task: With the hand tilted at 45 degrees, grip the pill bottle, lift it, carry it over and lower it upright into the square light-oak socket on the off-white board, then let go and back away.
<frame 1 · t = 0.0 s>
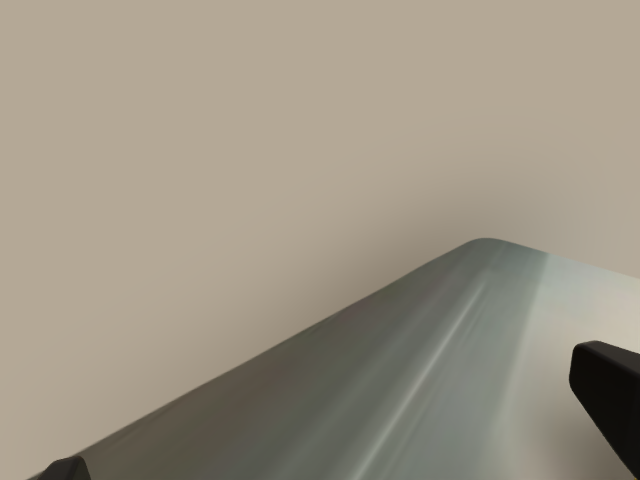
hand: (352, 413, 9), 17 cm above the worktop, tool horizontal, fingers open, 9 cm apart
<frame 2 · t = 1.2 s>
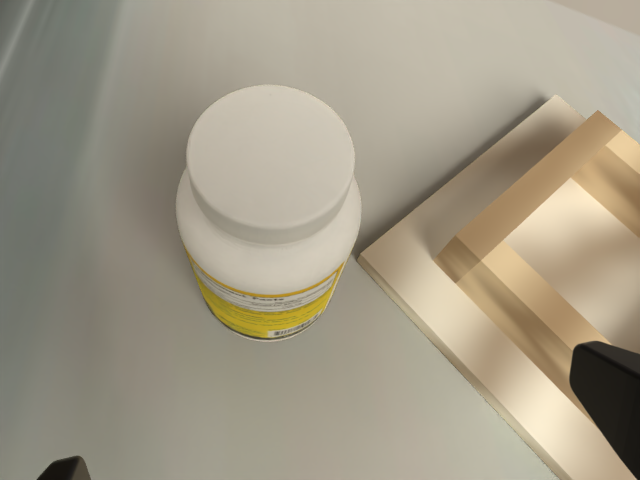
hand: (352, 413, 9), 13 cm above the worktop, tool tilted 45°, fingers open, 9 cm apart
socket: (575, 282, 25), on the worktop
pill bottle: (267, 281, 24), on the worktop
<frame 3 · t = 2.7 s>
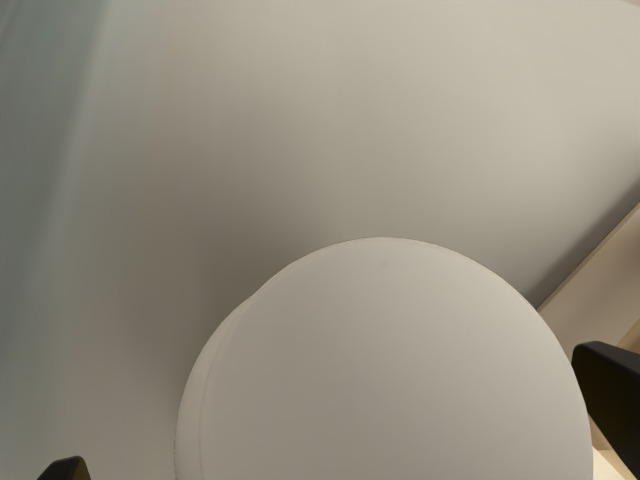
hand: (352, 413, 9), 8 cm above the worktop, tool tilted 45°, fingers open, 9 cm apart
pill bottle: (312, 444, 16), on the worktop
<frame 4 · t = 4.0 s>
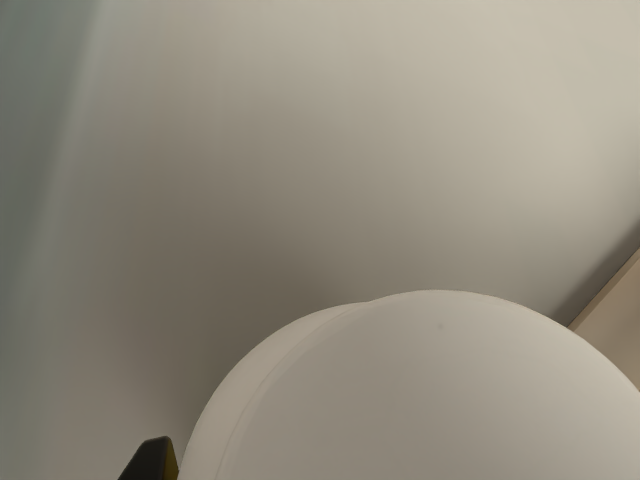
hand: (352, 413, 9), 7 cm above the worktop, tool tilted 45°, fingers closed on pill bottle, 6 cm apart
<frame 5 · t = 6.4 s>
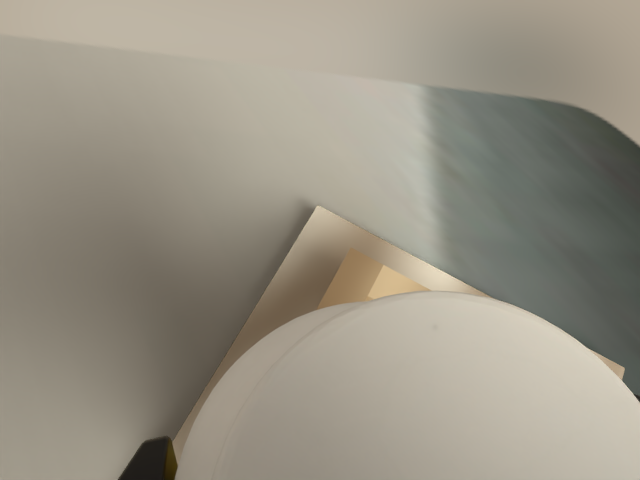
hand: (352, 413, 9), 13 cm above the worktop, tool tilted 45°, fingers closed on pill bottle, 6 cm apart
socket: (391, 446, 21), on the worktop
pill bottle: (322, 479, 15), point 6 cm above the worktop, touching gripper
when the fingers open (9 cm above the worktop, at t = 8.7 s): pill bottle drops 1 cm, resting on socket.
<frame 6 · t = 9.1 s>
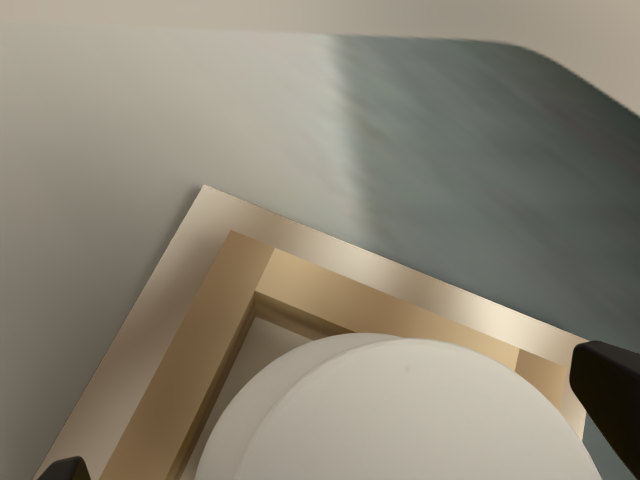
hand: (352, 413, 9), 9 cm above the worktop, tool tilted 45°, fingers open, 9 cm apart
socket: (315, 478, 17), on the worktop
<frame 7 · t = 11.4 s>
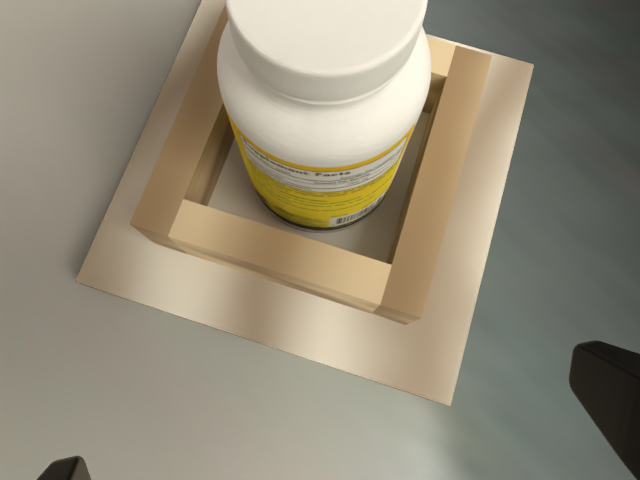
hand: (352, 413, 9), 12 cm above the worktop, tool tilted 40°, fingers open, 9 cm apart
socket: (318, 174, 23), on the worktop
pill bottle: (320, 171, 22), point 1 cm above the worktop, touching socket
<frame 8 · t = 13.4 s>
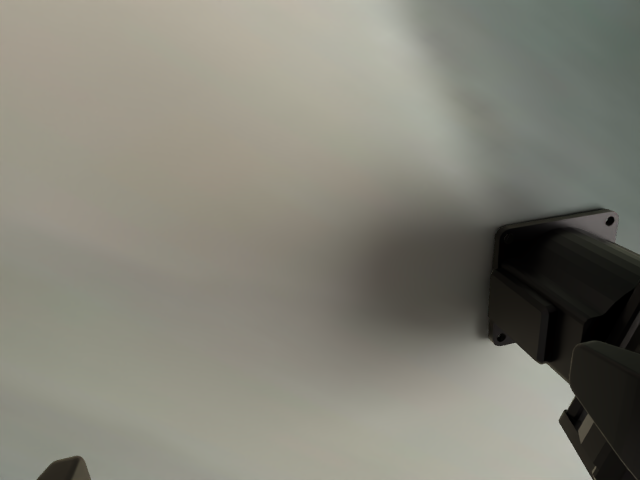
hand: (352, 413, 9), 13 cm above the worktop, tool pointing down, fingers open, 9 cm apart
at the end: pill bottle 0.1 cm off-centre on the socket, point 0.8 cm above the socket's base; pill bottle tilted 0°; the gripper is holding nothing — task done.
